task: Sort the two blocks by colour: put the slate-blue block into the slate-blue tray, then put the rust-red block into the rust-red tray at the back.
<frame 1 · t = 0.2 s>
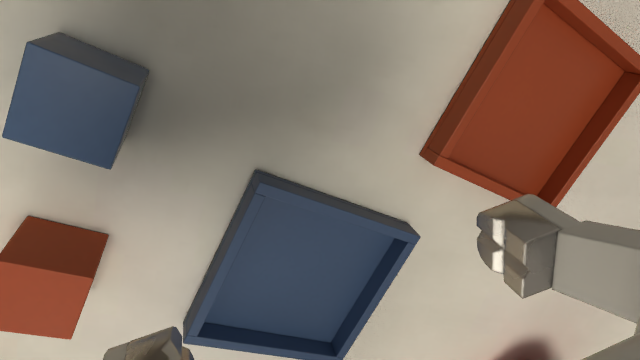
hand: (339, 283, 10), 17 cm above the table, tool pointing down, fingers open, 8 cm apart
rust block: (60, 254, 25), on the table
rust tray: (528, 108, 31), on the table
blue tray: (299, 270, 31), on the table
blue block: (93, 89, 22), on the table
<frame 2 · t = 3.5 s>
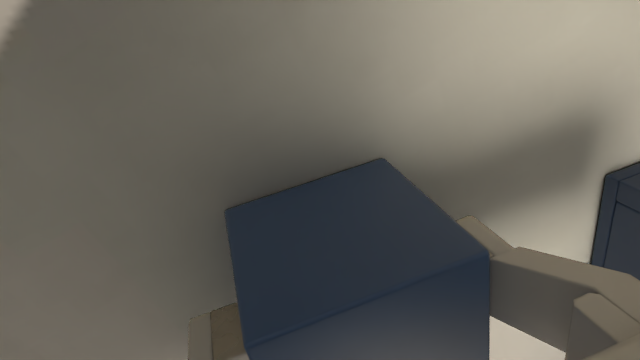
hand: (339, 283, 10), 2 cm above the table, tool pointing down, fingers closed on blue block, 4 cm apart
blue block: (323, 247, 11), on the table, touching gripper
when the fingers open (2 cm above the table, at t = 10.3 s): blue block stays where it is, resting on blue tray.
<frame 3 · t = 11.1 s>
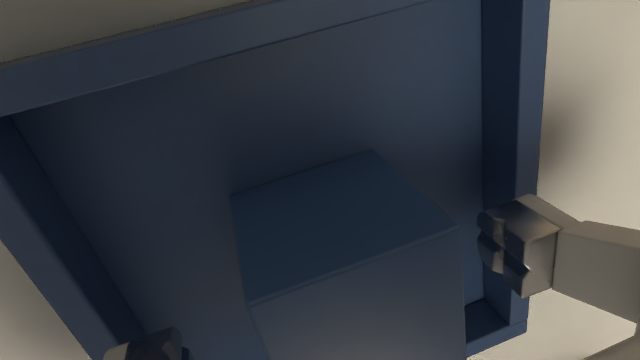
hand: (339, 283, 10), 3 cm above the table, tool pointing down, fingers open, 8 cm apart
blue tray: (312, 222, 13), on the table
blue block: (318, 231, 12), resting on blue tray
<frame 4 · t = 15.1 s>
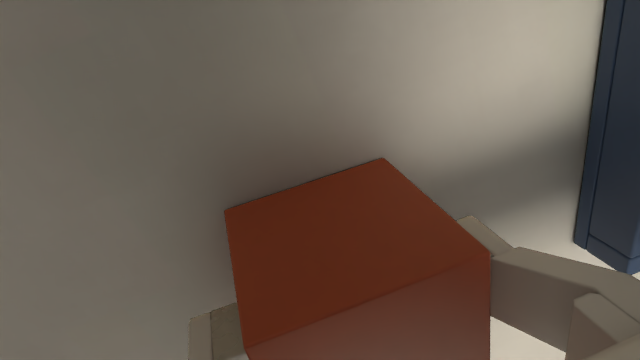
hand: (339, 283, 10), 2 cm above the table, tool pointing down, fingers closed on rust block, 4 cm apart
rust block: (323, 247, 11), on the table, touching gripper
when the fingers open (2 cm above the table, at t = 22.9 s): rust block stays where it is, resting on rust tray.
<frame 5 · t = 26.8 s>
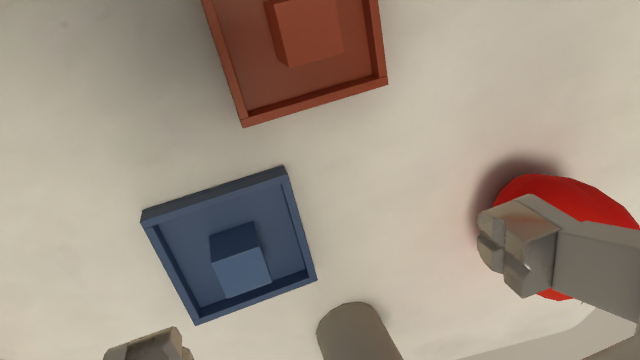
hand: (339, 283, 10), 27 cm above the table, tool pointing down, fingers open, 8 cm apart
tomato: (509, 202, 49), on the table
rust block: (296, 24, 33), resting on rust tray
cup: (347, 326, 51), on the table
rust tray: (294, 23, 33), on the table
blue tray: (236, 242, 40), on the table
blue block: (237, 245, 40), resting on blue tray
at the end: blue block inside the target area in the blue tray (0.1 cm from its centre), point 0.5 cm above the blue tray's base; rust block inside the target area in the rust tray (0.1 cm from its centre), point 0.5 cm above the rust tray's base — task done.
